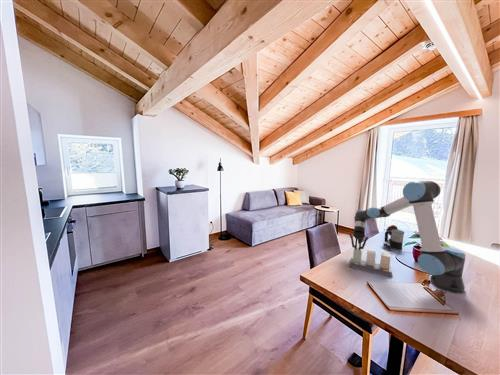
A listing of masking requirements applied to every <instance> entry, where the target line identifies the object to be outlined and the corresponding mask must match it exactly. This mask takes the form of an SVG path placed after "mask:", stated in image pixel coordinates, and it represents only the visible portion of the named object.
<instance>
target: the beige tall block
mask: <svg viewBox="0 0 500 375" xmlns="http://www.w3.org/2000/svg"><path fill="white" fill-rule="evenodd" d="M379 262H380V263H379V264H380V268H383V269H388V270H389V266H391V265H390V264H391V254H389V253H384V252H381V253H380V260H379Z"/></svg>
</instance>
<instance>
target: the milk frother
mask: <svg viewBox="0 0 500 375" xmlns="http://www.w3.org/2000/svg"><path fill="white" fill-rule="evenodd" d="M388 233H391V236H390V238H389V234H388ZM404 236H405V232H404V231H403V230H402V229H401V230H400V229H398V230H395V229H392V231H390V230H389V231H385V232H384V242H385V243H383V246H384V247H385V248H386V249H387V250H391V251H393V250H394V249H395V250H403V241H404ZM389 239H390V240H389ZM388 241H389V244H387V242H388Z"/></svg>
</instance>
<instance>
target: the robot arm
mask: <svg viewBox="0 0 500 375" xmlns="http://www.w3.org/2000/svg"><path fill="white" fill-rule="evenodd" d="M440 194H441V187H440V185H439V184H438V183H437V182H435V181H432V180H415V181H410V182H408V183H406V184H405V185H404V186H403V189H402V195H403V196H402V197H400V198H398V199H396V200H394V201H391V202H389V203H388V204H385V205H384V206H380V207H376V206H371V207H369V208H367V209H364V210H363V209H358V210H356V212H355V216H354V225H353V226H354V227H353V233H350V234H349V237H350V242H351V247H352V248H354V249H356V250H361V251H362V250H364V248H365V246H366V244H367V243H366V242H367V241H368V240H369V237H368V236H366V234H365V232H366V222H367V221H369V220H372V219H377V218H378V219H379V218H380V219H381V218H388V217H390V216H391V215H392V214H395V213H397V212H401V211H403V210H405V209H407V208H409V207H413V213H414V216H415V220H416V225H417V228H418V233H419V237H420V242H421V247H420V248H419V251H420V252H419V253H420V255H418V257H417V264H418V266H419V267H420V268H421V270H422V271H424V273H427V274H429V275H430V278H429V280H430V281H429V282H430V283H431V284H432V285H434V286H435V287H436V288H439V289H441V290H444V291H446V292H451V293H455V294H457V293H458V294H462V293H464V292H465V288H466V287H465V283H464V280H463V274H464V267H465V262H466V253H465V252H463V251H462V250H458V249H456V248H452V247H448V246H445V245H442V243H441V239H440V235H439V231H438V228H437V222H436V219H435V214H434V209H433V207H432V205H433V203H434V202H435V201H434V199H436V198H437V197H439V196H440ZM353 237H354V238H355V242H354V238H353ZM363 239H364V240H363ZM358 240H359V242H358ZM362 240H363V242H362Z"/></svg>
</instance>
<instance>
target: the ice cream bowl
mask: <svg viewBox="0 0 500 375" xmlns="http://www.w3.org/2000/svg"><path fill="white" fill-rule="evenodd" d="M392 229H395V230H399V229H398V227H397V225H395V224H393V225H389V226H388V227H387V229H386V231H389V230H390V231H392ZM386 231H385V232H386ZM388 236H390V237H391V233H388ZM388 241H390V238H388Z"/></svg>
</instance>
